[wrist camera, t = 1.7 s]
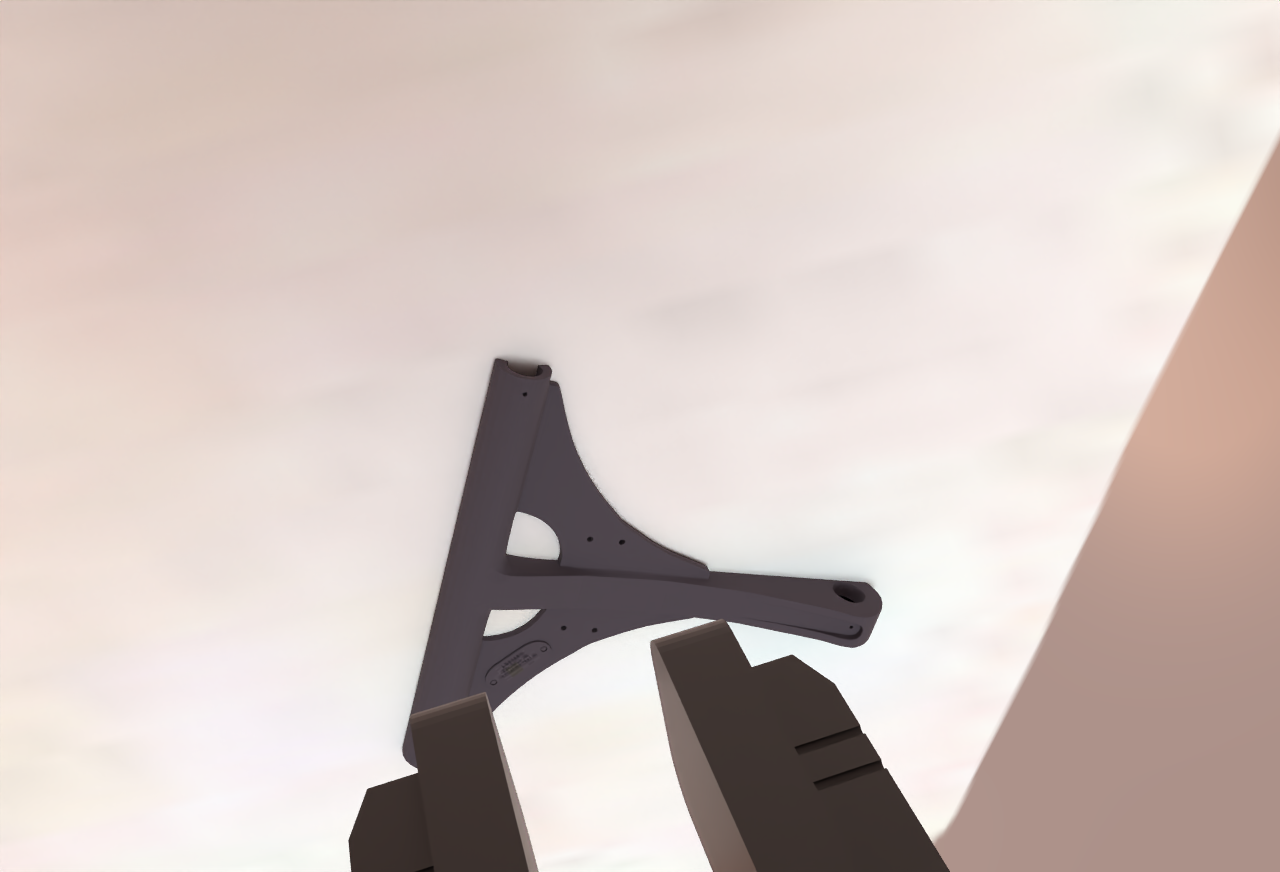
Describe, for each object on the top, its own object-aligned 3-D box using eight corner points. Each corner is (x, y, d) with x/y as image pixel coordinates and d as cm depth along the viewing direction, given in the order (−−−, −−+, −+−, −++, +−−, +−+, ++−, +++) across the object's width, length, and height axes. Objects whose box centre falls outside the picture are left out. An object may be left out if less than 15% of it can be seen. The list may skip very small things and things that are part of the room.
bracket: (791, 742, 46) (821, 795, 44) (399, 736, 41) (409, 797, 38) (928, 406, 40) (971, 447, 38) (489, 347, 35) (507, 391, 32)
